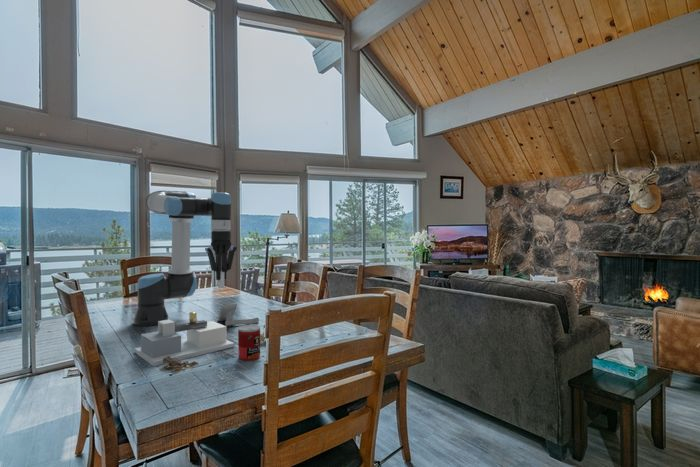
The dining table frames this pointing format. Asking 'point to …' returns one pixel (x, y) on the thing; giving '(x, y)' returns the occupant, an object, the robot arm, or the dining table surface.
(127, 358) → the dining table surface
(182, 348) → the white stepped platform
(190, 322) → the bolt
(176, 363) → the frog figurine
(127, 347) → the dining table surface
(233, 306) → the door handle
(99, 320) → the dining table surface
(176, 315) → the dining table surface
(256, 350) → the canned food
